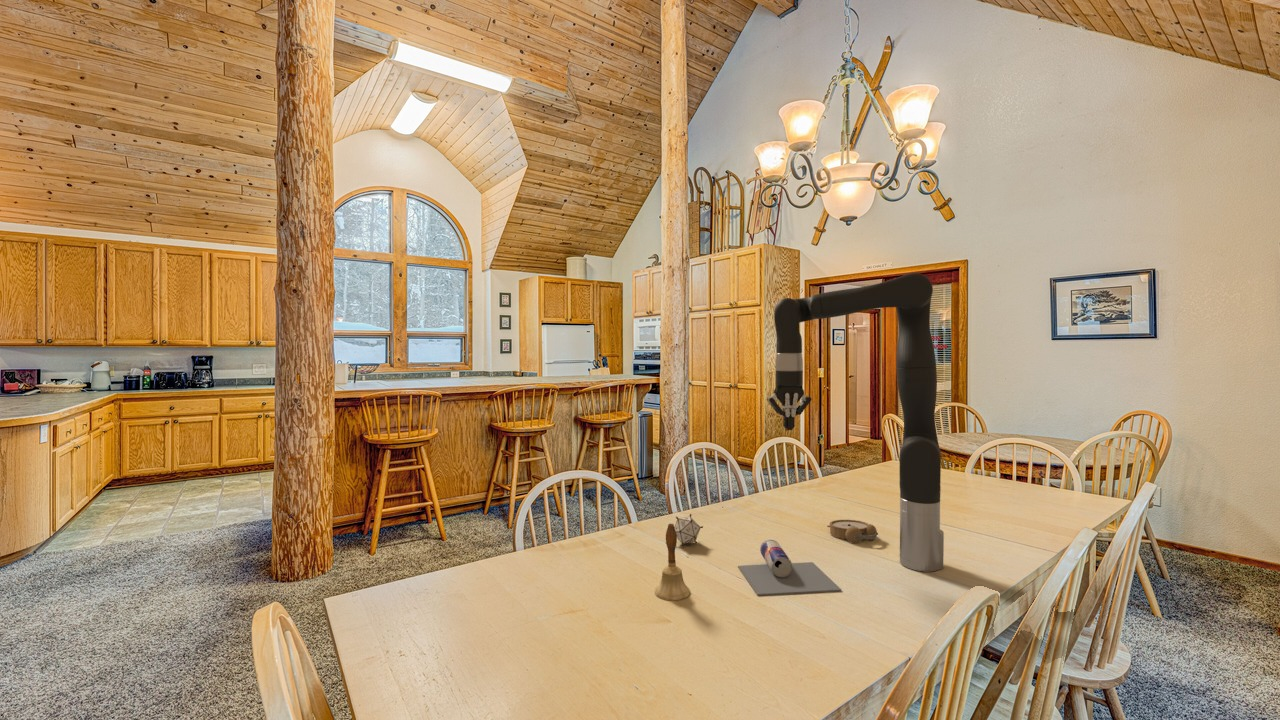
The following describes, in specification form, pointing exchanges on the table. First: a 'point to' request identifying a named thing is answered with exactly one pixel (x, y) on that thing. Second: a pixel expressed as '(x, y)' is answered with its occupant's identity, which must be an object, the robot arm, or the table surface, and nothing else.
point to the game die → (687, 530)
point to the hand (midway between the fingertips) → (788, 429)
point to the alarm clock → (852, 530)
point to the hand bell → (672, 573)
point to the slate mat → (788, 580)
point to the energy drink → (776, 558)
